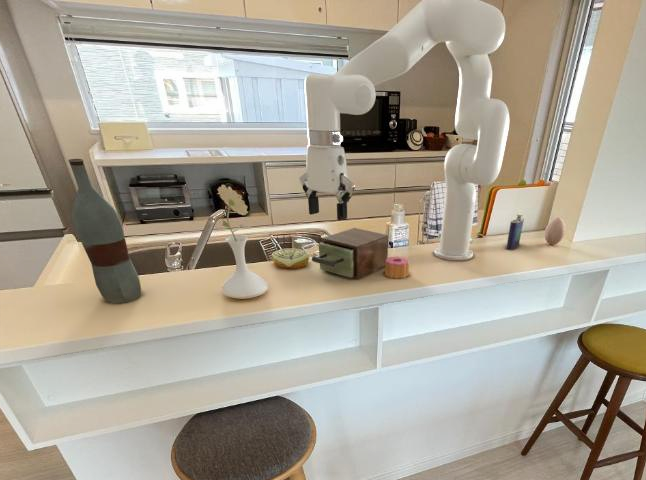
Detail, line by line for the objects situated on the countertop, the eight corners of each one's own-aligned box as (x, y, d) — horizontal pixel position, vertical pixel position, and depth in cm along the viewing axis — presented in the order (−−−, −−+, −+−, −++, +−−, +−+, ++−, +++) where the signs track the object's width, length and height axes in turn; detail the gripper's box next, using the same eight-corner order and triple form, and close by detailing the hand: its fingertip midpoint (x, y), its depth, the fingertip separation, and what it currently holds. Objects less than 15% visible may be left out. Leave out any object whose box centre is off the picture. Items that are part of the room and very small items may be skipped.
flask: (513, 242, 150) (519, 211, 144) (521, 244, 149) (527, 212, 143) (504, 249, 144) (510, 216, 138) (512, 250, 143) (519, 217, 136)
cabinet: (357, 279, 117) (357, 246, 111) (323, 269, 122) (321, 237, 117) (387, 265, 126) (388, 235, 121) (354, 257, 132) (354, 227, 127)
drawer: (338, 283, 111) (337, 256, 107) (307, 274, 116) (304, 247, 112) (379, 265, 124) (379, 240, 120) (349, 257, 129) (349, 233, 125)
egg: (542, 241, 153) (548, 214, 148) (561, 243, 152) (568, 216, 147) (541, 245, 148) (548, 218, 143) (561, 248, 147) (568, 220, 141)
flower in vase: (275, 297, 105) (261, 189, 90) (229, 306, 99) (207, 193, 85) (258, 281, 114) (243, 180, 100) (215, 288, 108) (193, 183, 94)
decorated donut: (291, 272, 119) (289, 259, 117) (265, 265, 124) (263, 252, 122) (316, 263, 127) (315, 251, 124) (290, 256, 131) (289, 244, 129)
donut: (393, 268, 125) (394, 254, 122) (412, 273, 122) (413, 259, 119) (379, 274, 120) (380, 260, 118) (399, 280, 117) (400, 265, 114)
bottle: (107, 291, 105) (57, 156, 88) (147, 288, 107) (106, 156, 90) (97, 306, 98) (41, 162, 81) (140, 302, 100) (94, 162, 83)
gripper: (363, 141, 96) (363, 219, 106) (308, 136, 104) (313, 209, 114) (342, 143, 91) (344, 224, 101) (286, 137, 99) (293, 213, 109)
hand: (327, 216), depth 107 cm, fingers open, 9 cm apart
